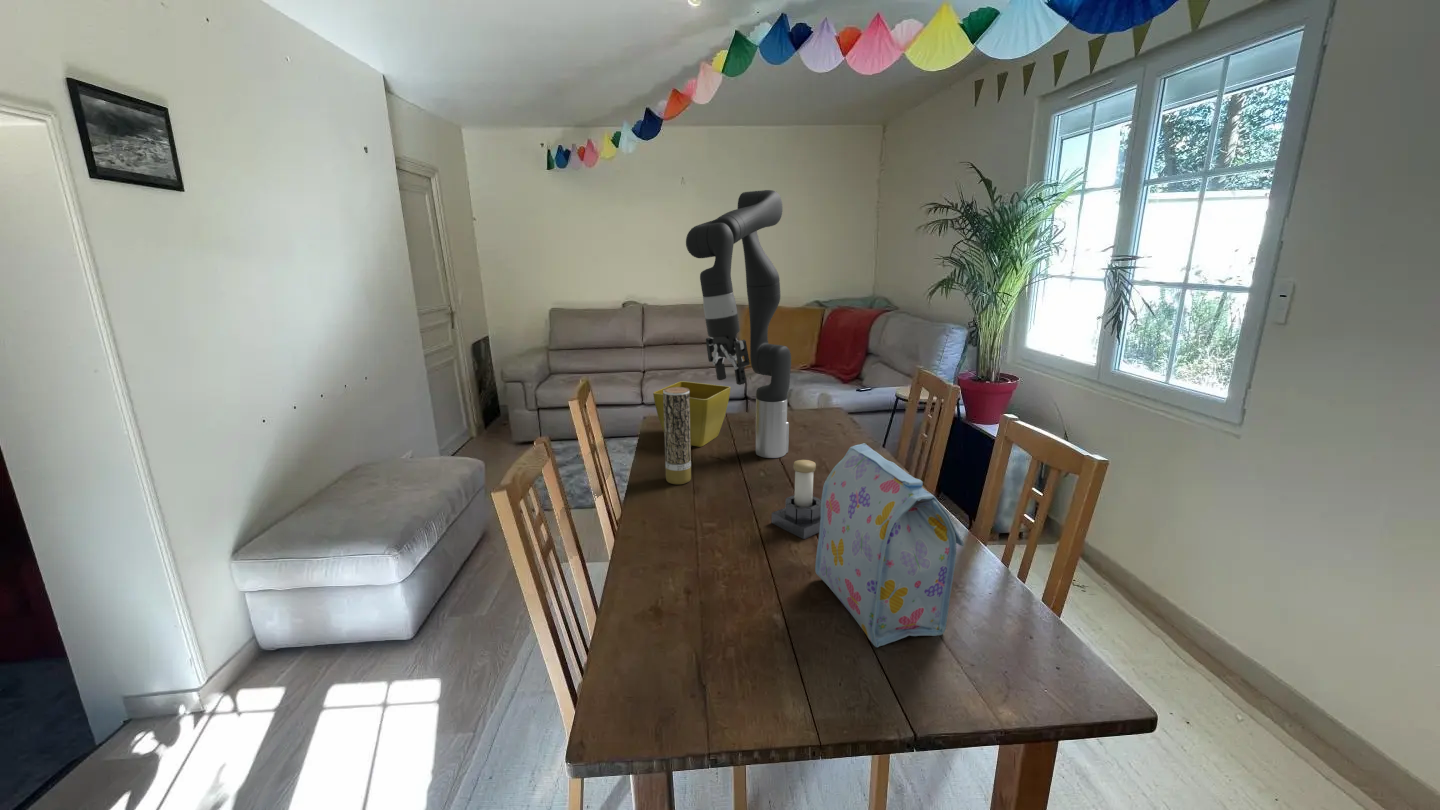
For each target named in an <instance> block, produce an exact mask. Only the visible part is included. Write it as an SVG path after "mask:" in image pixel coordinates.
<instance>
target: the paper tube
mask: <svg viewBox="0 0 1440 810" xmlns="http://www.w3.org/2000/svg"><path fill="white" fill-rule="evenodd" d="M663 405H664V432H663V433H664V460H665V461H664V463H665V464H664V465H665V466H664V467H665V480H666V482H667V483H669V484H671V485H685V484H688V483H689V482H690V481H691V480H692V461H691V460H692V457H691V456H692V454H691V453H692V451H691V447H692V445H691V443H690V392H689V389H688V388H683V387H672V388H666V389H664V390H663Z"/></svg>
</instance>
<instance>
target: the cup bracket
mask: <svg viewBox="0 0 1440 810" xmlns="http://www.w3.org/2000/svg"><path fill="white" fill-rule="evenodd" d="M794 496H795V494H793V495H790V496H788V497H786V498H785V506H784V508H781V509H778V510H776V511H773V512H771V524H772V525H775V526H777V527H779V528H781V529H782V530H784V531H786V532H788V533H790V534H792V535H794V536H796V537H798V538H800V539H803V540H806V539H808V538H810V537H814V536H815V535H818V534H819V531H820V520H821V500H822V498H819V497H816V496H814V495H813V499H812V507H797V506H795V505H794Z"/></svg>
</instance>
